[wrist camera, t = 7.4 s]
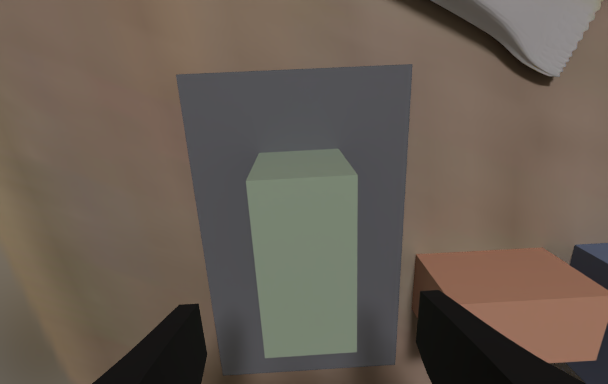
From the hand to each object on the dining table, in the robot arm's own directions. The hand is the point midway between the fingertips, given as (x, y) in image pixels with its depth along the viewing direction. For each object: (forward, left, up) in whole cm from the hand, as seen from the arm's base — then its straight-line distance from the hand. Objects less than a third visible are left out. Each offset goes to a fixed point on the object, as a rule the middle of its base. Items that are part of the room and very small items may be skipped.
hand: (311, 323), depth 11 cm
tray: (-1, 0, -9) cm, 9 cm away
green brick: (0, 0, -8) cm, 8 cm away
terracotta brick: (-5, -11, -9) cm, 15 cm away
